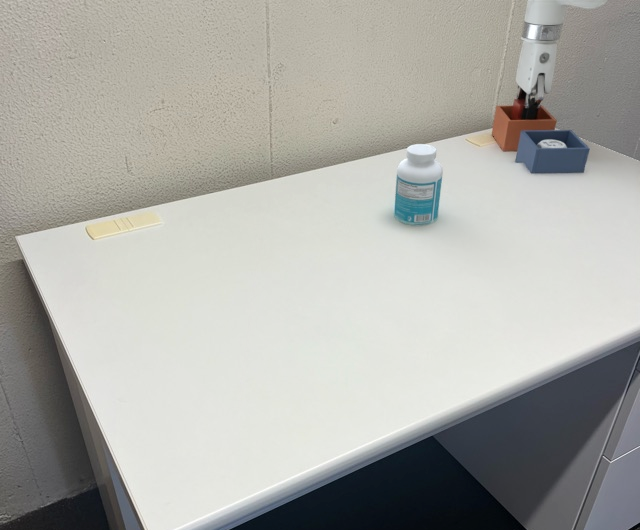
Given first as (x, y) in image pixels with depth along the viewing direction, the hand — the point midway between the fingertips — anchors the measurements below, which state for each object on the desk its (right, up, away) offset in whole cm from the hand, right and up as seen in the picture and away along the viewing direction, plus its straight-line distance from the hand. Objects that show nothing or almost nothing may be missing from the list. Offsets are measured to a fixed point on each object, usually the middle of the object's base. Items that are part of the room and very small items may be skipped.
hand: (523, 121), depth 133 cm
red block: (0, 0, 0) cm, 0 cm away
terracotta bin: (0, -4, +3) cm, 5 cm away
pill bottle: (-28, -27, -28) cm, 48 cm away
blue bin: (+1, -13, -10) cm, 17 cm away
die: (+1, -13, -10) cm, 16 cm away
